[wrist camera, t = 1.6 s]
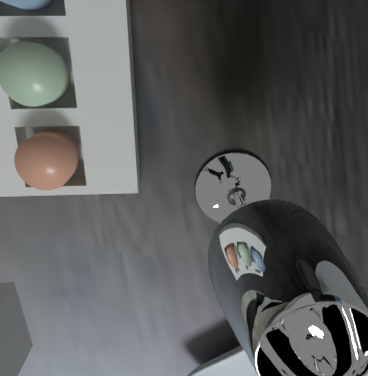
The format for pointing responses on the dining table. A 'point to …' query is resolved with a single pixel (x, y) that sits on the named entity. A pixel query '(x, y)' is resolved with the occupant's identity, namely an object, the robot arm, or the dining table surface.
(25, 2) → the slate button
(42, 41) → the button panel
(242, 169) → the wineglass
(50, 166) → the terracotta button
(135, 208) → the dining table surface
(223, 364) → the salad plate
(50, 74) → the sage button
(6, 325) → the robot arm
